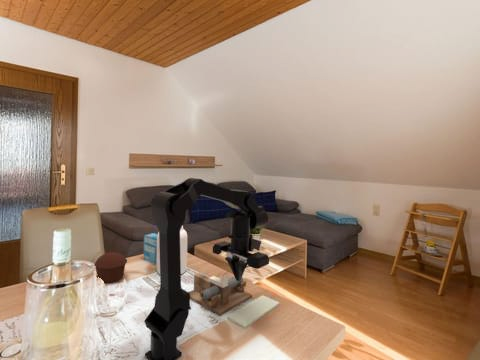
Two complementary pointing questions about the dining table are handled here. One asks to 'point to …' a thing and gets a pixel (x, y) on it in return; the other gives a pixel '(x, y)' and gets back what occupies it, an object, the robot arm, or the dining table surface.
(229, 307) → the cradle
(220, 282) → the beige wooden bar
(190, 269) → the dining table surface
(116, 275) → the muffin
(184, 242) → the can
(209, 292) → the grey rod
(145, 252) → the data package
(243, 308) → the mat
